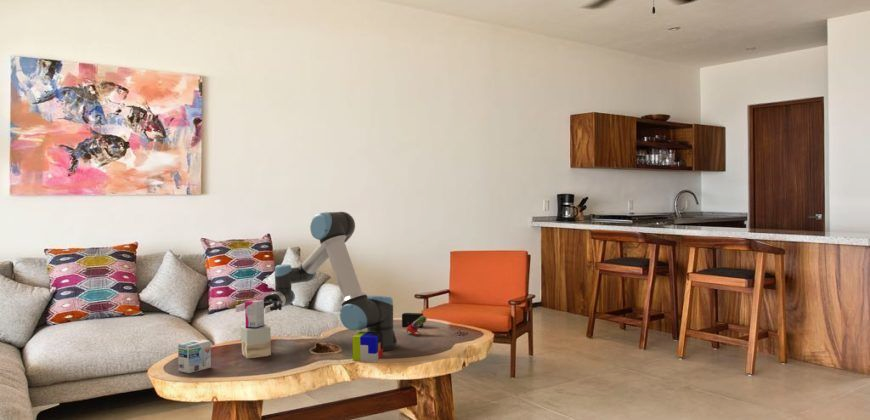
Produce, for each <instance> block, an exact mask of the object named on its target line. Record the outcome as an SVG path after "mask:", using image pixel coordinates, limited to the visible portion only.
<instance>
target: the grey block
mask: <svg viewBox="0 0 870 420" xmlns="http://www.w3.org/2000/svg"><path fill="white" fill-rule="evenodd" d="M271 333H272V332H271V326H268V325H266V324H265V323H264V326H263V327H260V328H257V329H255V328H246V325H242V326H240V341H241V342H242V341H243V342H244V343H246V344H247V345H249V344H256V343H264V342H272V341H271V340H272V339H271V337H272V334H271Z"/></svg>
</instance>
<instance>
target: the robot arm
mask: <svg viewBox="0 0 870 420" xmlns="http://www.w3.org/2000/svg"><path fill="white" fill-rule="evenodd" d="M309 227H310V228H309V229H310V234H311V236H312V237H313V238H315V239H316V240H318V241H319V244H318V245H317V246H316V247H315V248H314V249H313V251H312V252H311V253H310V254H309V255H308V257H307V258H306V259H305V260H304V261H303V262H302V263H301V264H300V265H299V266H297V267H292V265H291V264H277V265H275V268H274V284H275V285H274V286H275V287H274V292H272V293H270V294H269V293H268V294H267V295H265V296H264V298H262V299H261V300H264V314H268V313H271V312H273V311H277V310H279V311H282V309H283V307H286V306H289V305H291V304H292V303H293V302H294V301H295V299H296V295H295V293H294V291H293V290H292V285H293V284H299V283H300V284H301V283H307V282H310V281H313V280H314V279H315V277H316V275H317V273H316V272H317V271H318V270H319V269H320V267H322V265H324V263H326V261H327V260H328V259H329V262H330V265H331V267H332V271H333V273H334V276H335V279H336V281H337V284H338V288H339V291H340V293H341V296H342V301H341V303H340V304H341V308H340V313H339V318H340V321H341V323H342V325H343V326H344V327H345V328H346V329H347V330H349V331H363V330H364V329H366V332H383V352H384V351H392V350H394V349H396V348H398V340H397V337H396V334H395V331H394V301H393V298H392V297H391V296H387V295H386V296H385V295H368V294H367V293H365V292H363V291H362V288H361V285H360V281H359V279H358V277H357V274H356V271H355V268H354V265H353V263H352V262H353V261H352V260H351V257H350V254H349V251H348V248H347V245H346V242H348V241H349V240H350V238H351V237H352V235H353V234H354V232H355V229H356V223H355V219H354V218H353V216H352V215H351V214H350V213H348V212H345V211H332V212H331V211H329V212H328V211H324V212H319V213H316V214H315V215H314V216H313V217H312V219H311V223H310V226H309ZM243 311H245V301H244V302H242V301H241V302H238V305H235V313H240V312H243Z"/></svg>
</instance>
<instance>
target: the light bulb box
mask: <svg viewBox="0 0 870 420" xmlns="http://www.w3.org/2000/svg"><path fill="white" fill-rule="evenodd" d="M177 345H178V346H177V348H178V350H177V351H178V352H177V353H178V359H177V360H178V362H177V363H178V372H180V373H181V372H182V373H186V374H192V373H195V372H199V371H203V370H207V369H210V368H211V365H212V364H211V362H212V360H211V358H212V356H211V355H212V351H211V348H212V347H211V346H212V344H211V341H210V340H208V339H202V338H200V339H195V340H189V341H186V342H182V343H178V344H177Z"/></svg>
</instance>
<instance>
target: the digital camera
mask: <svg viewBox="0 0 870 420" xmlns="http://www.w3.org/2000/svg"><path fill="white" fill-rule="evenodd" d="M421 316H424V313H419V312H416V313H415V312H403V313H402V314H401V327H402V328H406V327H409V326H410V325H411V324H412V323H413V322H414V321H416V320H417V319H418V318H419V317H421ZM408 325H409V326H408ZM423 327H424V323H423V324H422V325H421V326H420V327H419V328H418V329H422V328H423Z"/></svg>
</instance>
